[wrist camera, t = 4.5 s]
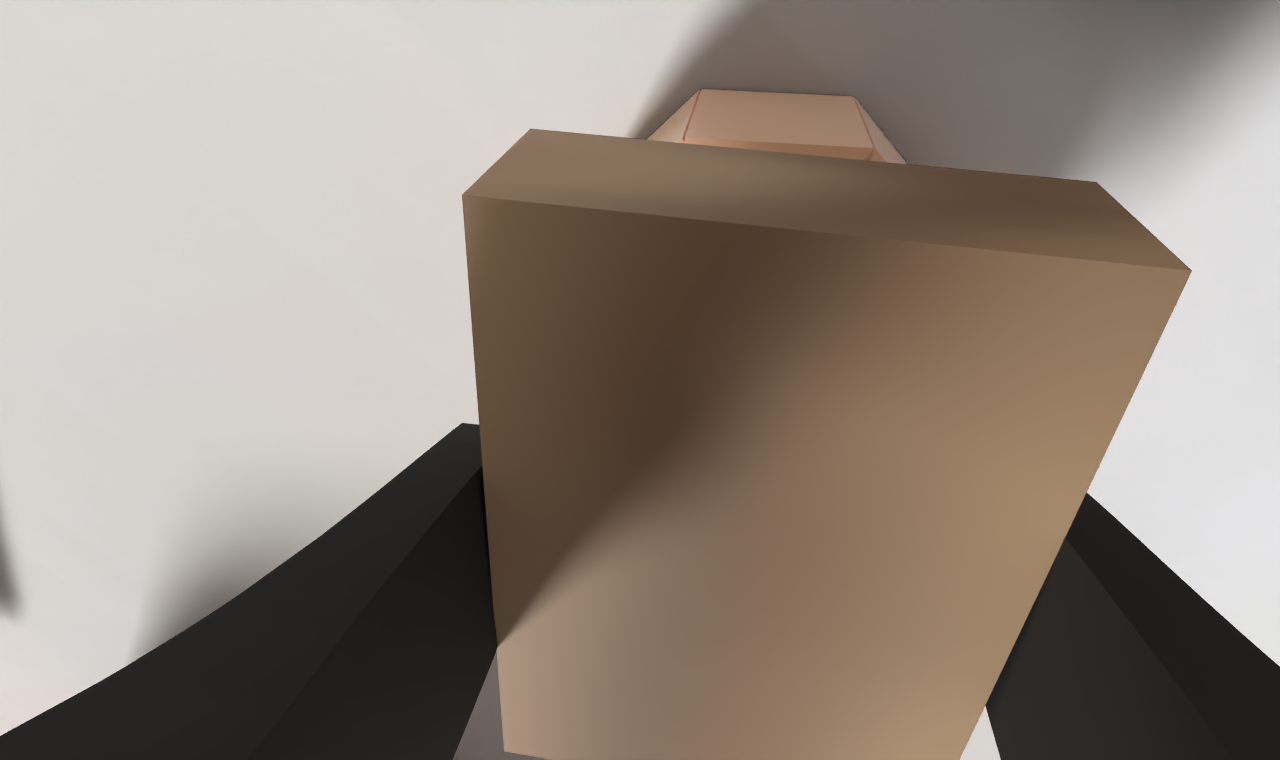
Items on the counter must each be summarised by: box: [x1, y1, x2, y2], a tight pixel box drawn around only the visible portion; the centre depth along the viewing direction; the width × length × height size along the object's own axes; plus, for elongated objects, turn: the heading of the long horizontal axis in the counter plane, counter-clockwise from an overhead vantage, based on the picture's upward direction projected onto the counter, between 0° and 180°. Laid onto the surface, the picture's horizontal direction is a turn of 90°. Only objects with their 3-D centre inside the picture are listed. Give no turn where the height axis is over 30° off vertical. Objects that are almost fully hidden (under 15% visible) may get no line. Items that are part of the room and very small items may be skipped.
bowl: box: [646, 89, 907, 164], centre depth 14 cm, size 6×6×3 cm
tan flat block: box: [462, 129, 1192, 760], centre depth 9 cm, size 5×8×2 cm
